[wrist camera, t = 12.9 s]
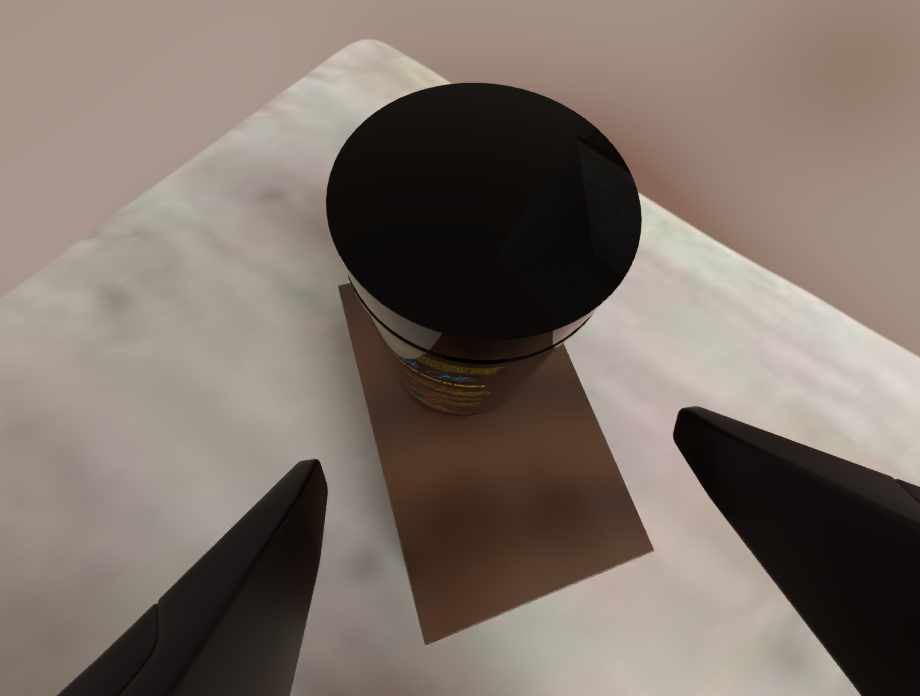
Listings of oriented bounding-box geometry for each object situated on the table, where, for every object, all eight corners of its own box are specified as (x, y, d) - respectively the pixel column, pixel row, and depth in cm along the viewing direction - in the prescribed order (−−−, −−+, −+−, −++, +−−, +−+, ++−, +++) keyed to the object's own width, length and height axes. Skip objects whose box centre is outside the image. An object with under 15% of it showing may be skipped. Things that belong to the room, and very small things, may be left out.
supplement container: (533, 421, 16) (670, 346, 7) (385, 419, 16) (300, 337, 6) (525, 290, 19) (619, 89, 9) (395, 286, 18) (343, 73, 9)
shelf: (600, 530, 20) (655, 551, 15) (429, 598, 19) (425, 646, 14) (502, 288, 25) (518, 240, 20) (360, 326, 23) (337, 285, 18)
